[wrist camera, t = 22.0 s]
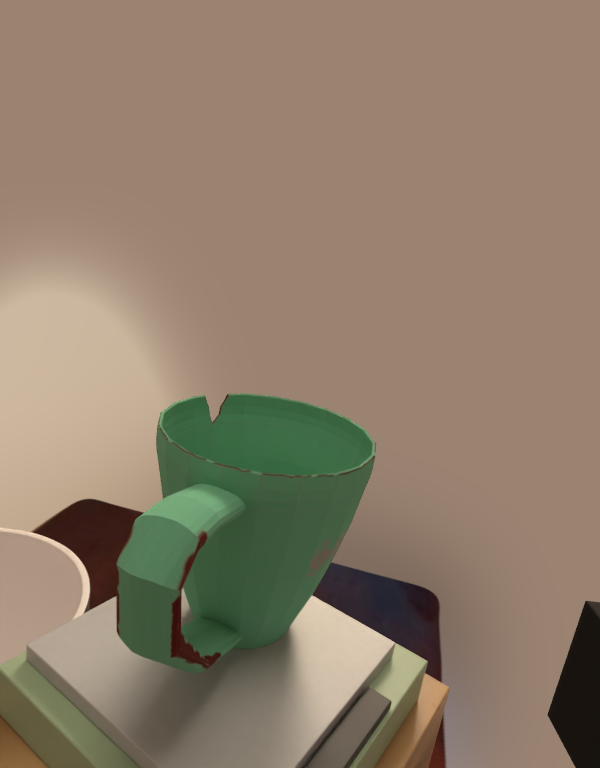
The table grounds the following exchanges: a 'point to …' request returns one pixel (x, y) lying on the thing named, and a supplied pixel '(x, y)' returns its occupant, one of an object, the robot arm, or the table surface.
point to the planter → (37, 589)
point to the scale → (212, 698)
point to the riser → (397, 764)
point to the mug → (237, 525)
